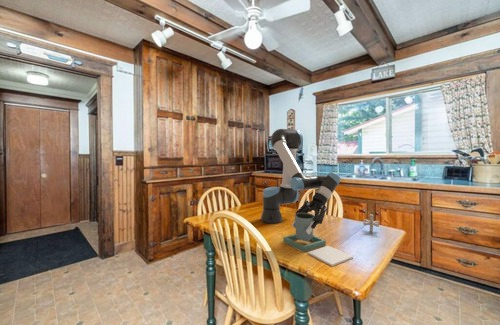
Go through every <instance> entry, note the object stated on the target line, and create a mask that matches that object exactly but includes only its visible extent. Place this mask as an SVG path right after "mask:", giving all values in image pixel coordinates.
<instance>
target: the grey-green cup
mask: <svg viewBox="0 0 500 325" xmlns="http://www.w3.org/2000/svg"><path fill="white" fill-rule="evenodd" d="M314 216H315V214H312V213H309V212H308V213H296V212H295V214H294V221H295V228H294V229H295V234H296V238H297V239H296V240H299V241H306V242H309V241H312V237H313V234H314V232H313V231H314V229H313V230H312V232H311V233H310V235H309V234H308V233H307V232H306V230H307V228H308V227H309V225H310V224H311V222H312V221H314Z"/></svg>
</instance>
